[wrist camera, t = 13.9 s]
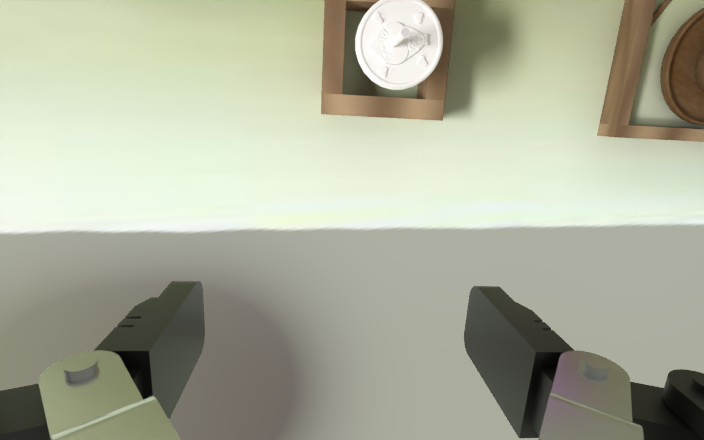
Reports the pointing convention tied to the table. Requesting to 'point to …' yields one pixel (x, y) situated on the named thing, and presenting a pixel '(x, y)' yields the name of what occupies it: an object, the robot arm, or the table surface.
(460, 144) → the table surface
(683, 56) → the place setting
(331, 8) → the holder
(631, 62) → the tray rim
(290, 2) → the table surface
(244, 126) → the table surface
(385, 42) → the smoothie
